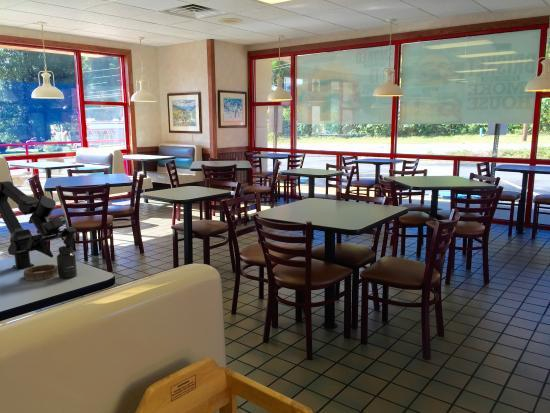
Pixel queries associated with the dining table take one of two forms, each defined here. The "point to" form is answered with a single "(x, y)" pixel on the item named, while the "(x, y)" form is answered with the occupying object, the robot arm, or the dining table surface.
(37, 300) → the dining table surface
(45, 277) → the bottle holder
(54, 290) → the dining table surface
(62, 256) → the supplement bottle
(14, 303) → the dining table surface
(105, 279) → the dining table surface
